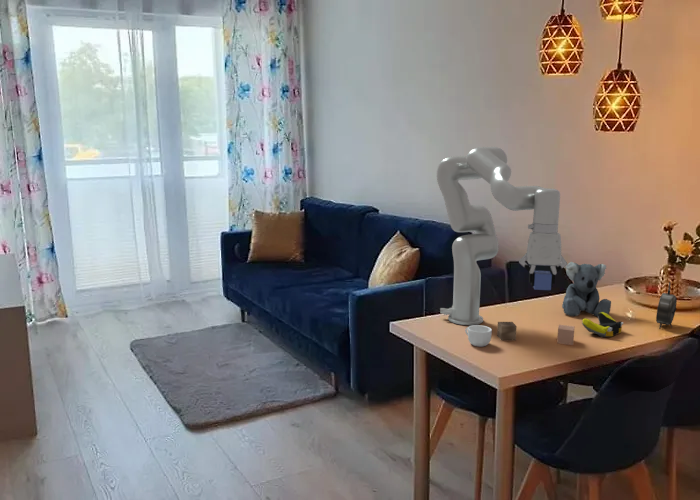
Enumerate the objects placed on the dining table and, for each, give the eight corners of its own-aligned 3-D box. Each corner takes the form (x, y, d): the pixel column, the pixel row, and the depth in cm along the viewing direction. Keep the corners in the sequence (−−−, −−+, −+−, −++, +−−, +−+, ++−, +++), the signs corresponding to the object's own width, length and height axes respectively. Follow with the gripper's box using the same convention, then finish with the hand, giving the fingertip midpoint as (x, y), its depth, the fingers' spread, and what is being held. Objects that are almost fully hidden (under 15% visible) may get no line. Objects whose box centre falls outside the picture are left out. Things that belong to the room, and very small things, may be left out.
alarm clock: (660, 321, 241) (664, 278, 238) (676, 324, 238) (681, 280, 235) (654, 329, 232) (658, 284, 229) (670, 331, 229) (675, 286, 226)
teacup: (496, 345, 214) (496, 329, 213) (480, 350, 209) (480, 333, 208) (473, 337, 221) (473, 322, 220) (457, 341, 217) (457, 326, 216)
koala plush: (564, 317, 246) (568, 266, 242) (553, 304, 263) (557, 256, 260) (612, 318, 244) (616, 267, 241) (598, 305, 262) (602, 257, 258)
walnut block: (500, 340, 219) (501, 326, 218) (497, 335, 223) (497, 321, 223) (515, 340, 219) (516, 326, 218) (511, 335, 224) (512, 321, 223)
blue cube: (534, 289, 205) (535, 273, 204) (532, 285, 210) (533, 270, 209) (550, 290, 205) (551, 274, 204) (548, 286, 209) (549, 271, 209)
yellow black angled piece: (578, 333, 227) (606, 340, 219) (579, 318, 226) (607, 325, 218) (599, 325, 236) (626, 331, 229) (600, 310, 235) (628, 316, 228)
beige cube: (556, 343, 216) (558, 328, 215) (557, 338, 221) (558, 324, 220) (573, 345, 214) (574, 330, 213) (573, 340, 219) (574, 326, 218)
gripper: (518, 229, 201) (515, 287, 205) (576, 231, 199) (571, 289, 202) (515, 226, 209) (512, 281, 212) (571, 227, 206) (567, 283, 210)
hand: (541, 285), depth 207 cm, fingers closed on blue cube, 4 cm apart
